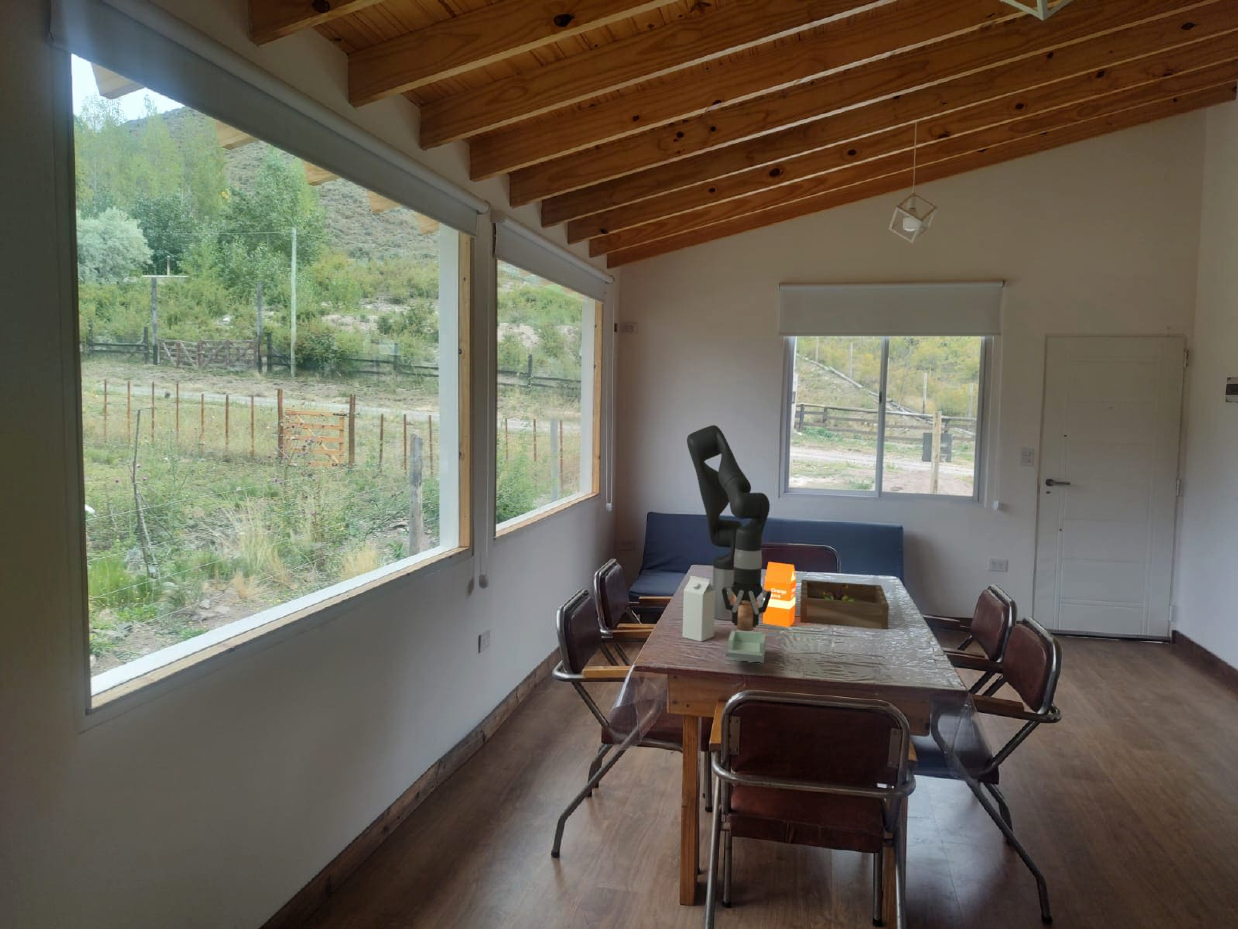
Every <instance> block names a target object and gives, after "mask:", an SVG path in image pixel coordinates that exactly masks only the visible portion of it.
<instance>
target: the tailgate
mask: <svg viewBox="0 0 1238 929" xmlns="http://www.w3.org/2000/svg"><path fill="white" fill-rule="evenodd" d="M725 657H726V658H728V657H735V658H745V659H756V660H761V659H762V657H763V653H762V652H751V651H740V650H730V649H729V650H728V649H727V651H726V652H725Z"/></svg>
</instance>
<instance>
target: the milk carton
mask: <svg viewBox="0 0 1238 929" xmlns="http://www.w3.org/2000/svg"><path fill="white" fill-rule="evenodd" d="M710 580H711V579H710V578H704V577H701V576H694V575H690V578H689V581H688V582H687V584H686V586H685V588H684V589H683V610H682V638H686V639H689V640H693V641H697V642H704V641H706V640H708V639H710V638H713V637H714V636H715V618H714V615H715V589H714V588H713V584H711V582H710Z"/></svg>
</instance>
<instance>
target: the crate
mask: <svg viewBox="0 0 1238 929" xmlns="http://www.w3.org/2000/svg"><path fill="white" fill-rule="evenodd" d="M730 631H731V632H730V634H729V637H728V645H727V646H728V649H727V651H728V650H729V649H730V650H740V651H751V652H762V653H763V657H762V659H761V660H756V659H745V658H735V657H727V661H729V660H736V661H735V662H740V661H753V662H761V663H763V662H764V661H765V656H764V655H766V634H767V633H766V632H759V631H741V630H738V629H731V630H730ZM763 664H764V663H763Z"/></svg>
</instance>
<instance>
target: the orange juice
mask: <svg viewBox="0 0 1238 929" xmlns="http://www.w3.org/2000/svg"><path fill="white" fill-rule="evenodd" d="M763 589H764V590H767V591H768V590H770V591H771V592H772V593H771V597H770V600H769V603H768V606H767V609H766V612H765V613H762V616H763V617H762V624H767V625H774V626H779V627H785V628H786V627H787V628H789V627H790V626H792V625H793V623H794V622H795V613H796V612H795V611H796V609H795V608H796V593H797V592H796V591H797V576H796V571H795V565H794V564H788V563H780V562H774V561H773V562H772V561H768V564H767V568H766V573H765V577H764V588H763ZM764 600H765V598H763V601H764Z"/></svg>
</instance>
